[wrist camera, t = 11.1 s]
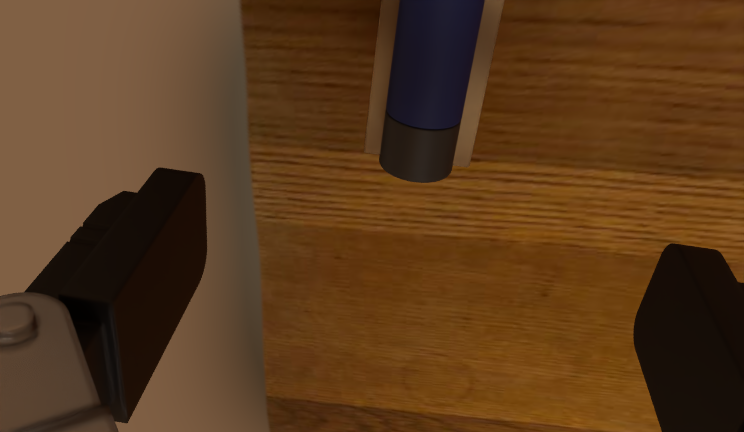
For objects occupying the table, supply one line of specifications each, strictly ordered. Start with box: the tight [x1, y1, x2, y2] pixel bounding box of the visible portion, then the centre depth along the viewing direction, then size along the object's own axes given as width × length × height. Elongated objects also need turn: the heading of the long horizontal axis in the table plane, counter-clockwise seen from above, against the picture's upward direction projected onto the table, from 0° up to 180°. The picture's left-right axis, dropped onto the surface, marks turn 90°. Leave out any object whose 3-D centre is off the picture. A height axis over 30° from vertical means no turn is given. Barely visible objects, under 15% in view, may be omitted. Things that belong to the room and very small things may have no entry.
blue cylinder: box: [379, 0, 485, 183], centre depth 22 cm, size 9×3×3 cm, turn 174°
